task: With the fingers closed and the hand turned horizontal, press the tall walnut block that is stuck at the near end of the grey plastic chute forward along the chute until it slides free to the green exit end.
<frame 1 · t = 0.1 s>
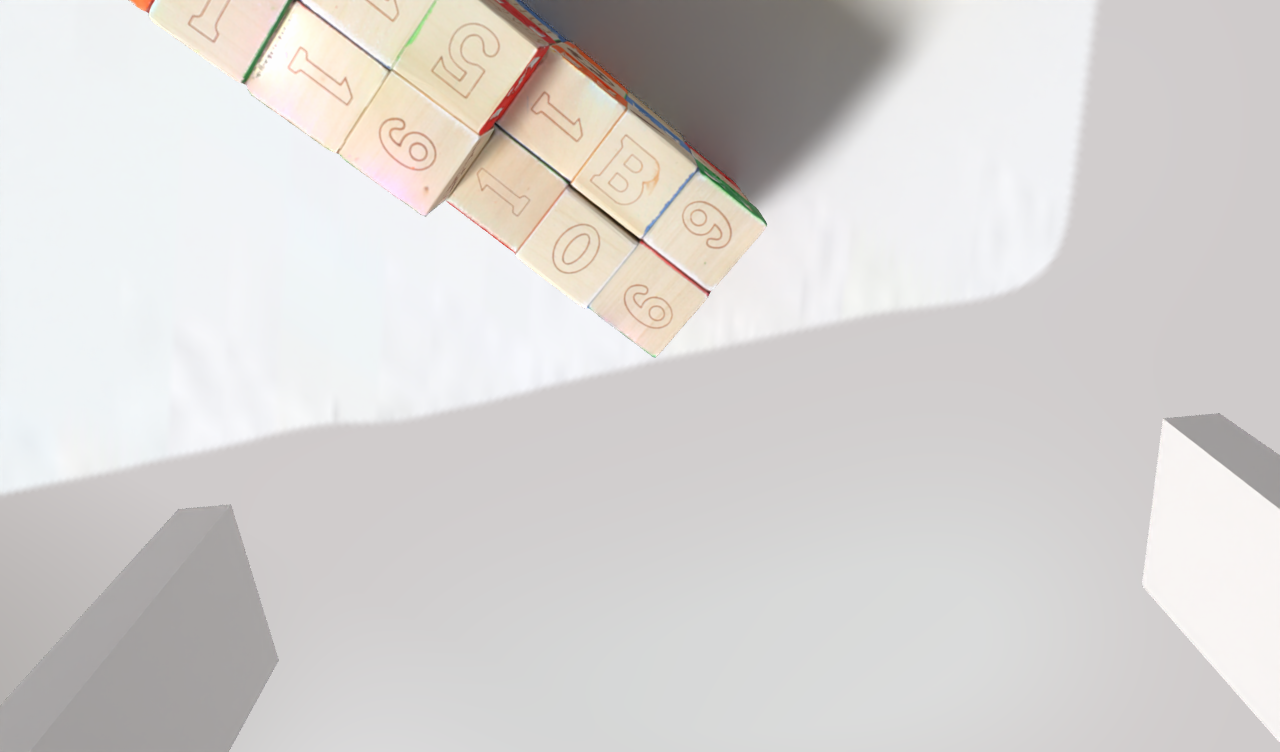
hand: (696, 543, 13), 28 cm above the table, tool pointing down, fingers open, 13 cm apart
stack of blocks: (495, 76, 38), on the table
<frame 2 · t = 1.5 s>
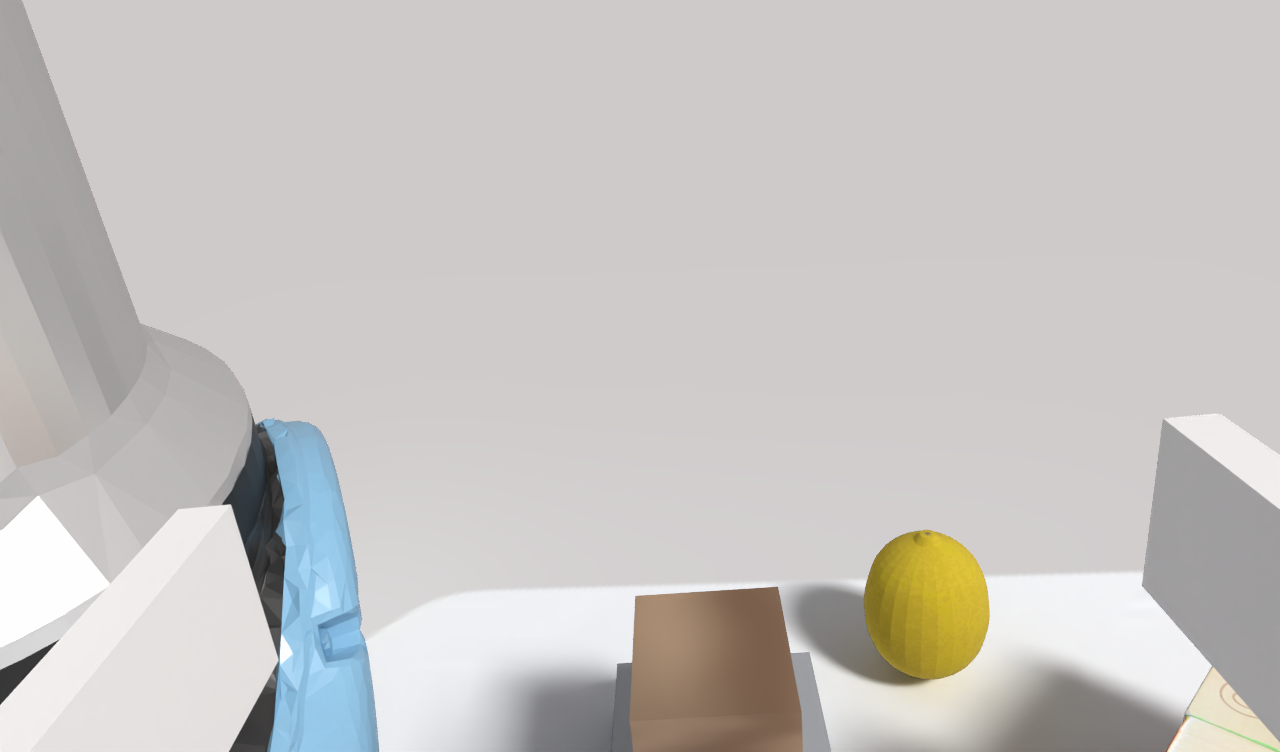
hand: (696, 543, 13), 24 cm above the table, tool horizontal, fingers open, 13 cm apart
lemon: (923, 678, 44), on the table
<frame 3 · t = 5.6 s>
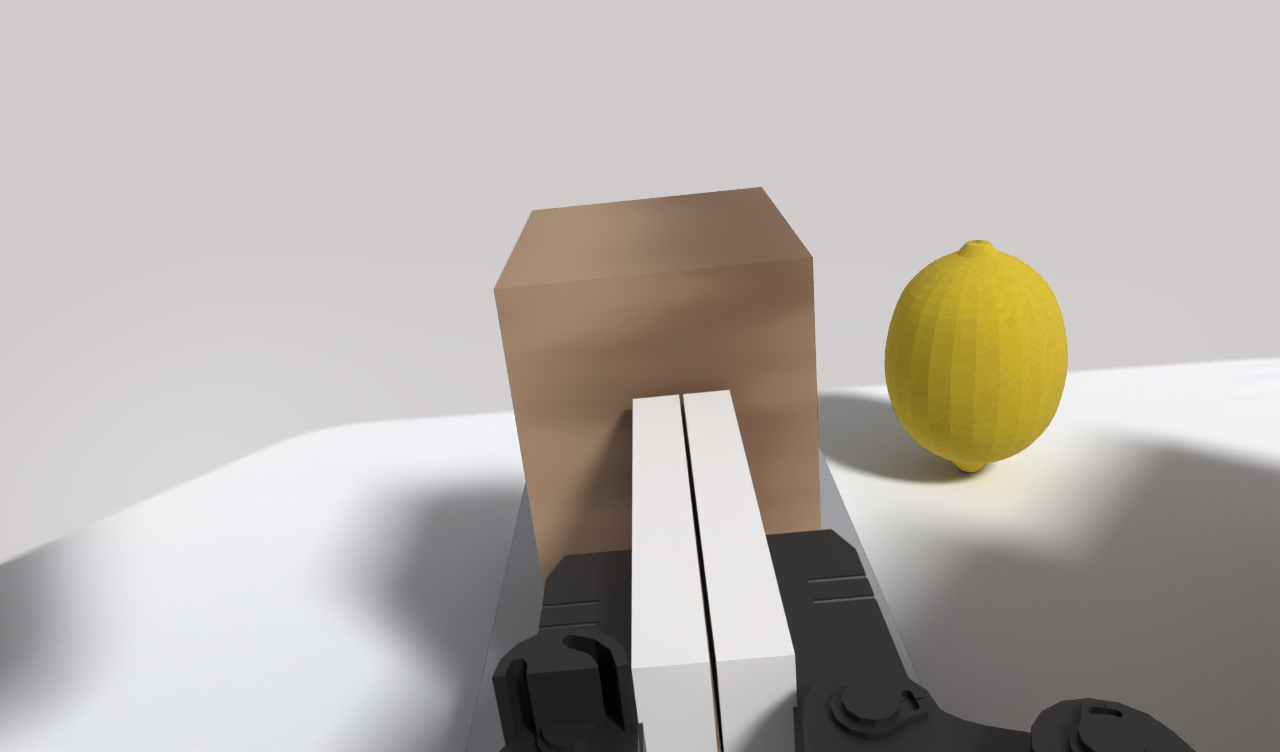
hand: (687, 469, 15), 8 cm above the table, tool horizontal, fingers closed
lemon: (969, 475, 31), on the table
block: (674, 488, 19), point 6 cm above the table, slide at 0.8 cm, touching gripper
chute: (690, 648, 24), on the table
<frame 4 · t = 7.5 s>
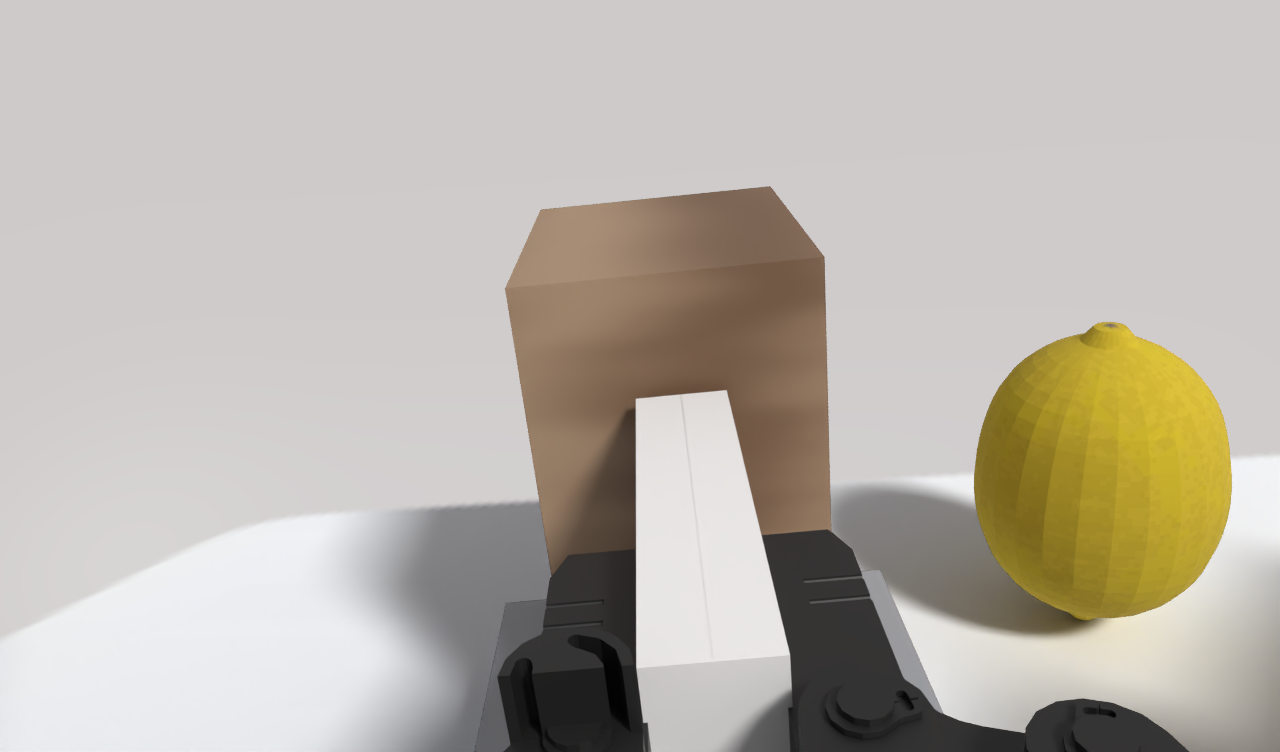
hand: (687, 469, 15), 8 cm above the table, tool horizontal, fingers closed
lemon: (1082, 622, 24), on the table
block: (682, 487, 19), point 6 cm above the table, slide at 8.8 cm, touching gripper
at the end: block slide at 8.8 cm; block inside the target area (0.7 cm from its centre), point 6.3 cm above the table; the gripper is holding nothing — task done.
